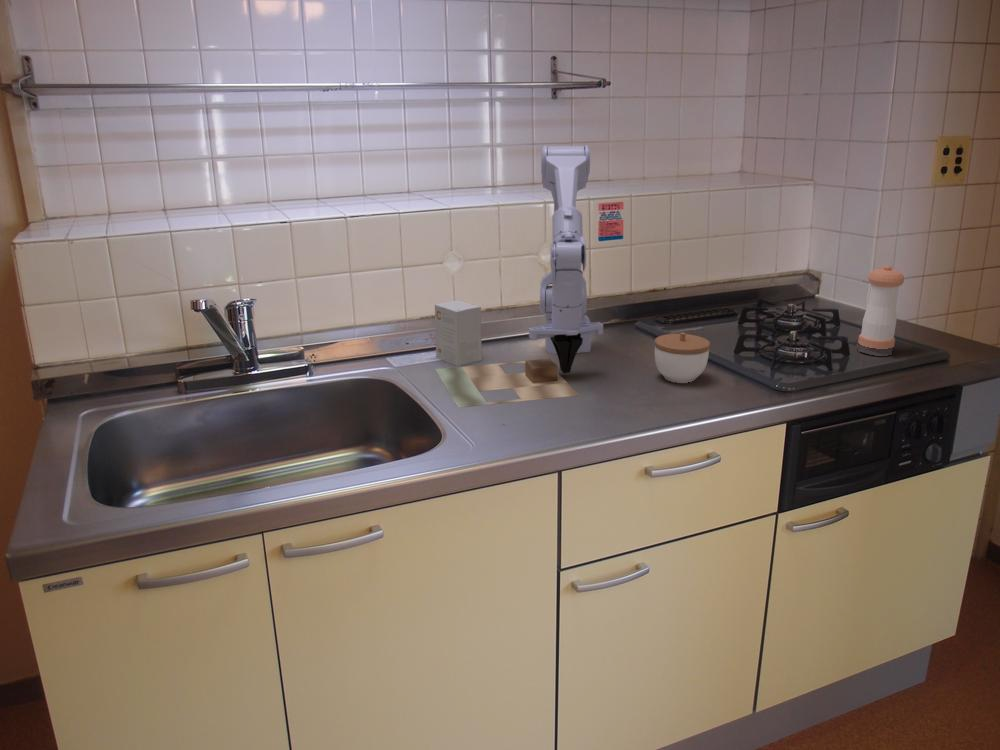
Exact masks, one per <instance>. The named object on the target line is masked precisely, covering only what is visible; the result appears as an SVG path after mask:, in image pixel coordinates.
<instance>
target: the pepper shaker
mask: <svg viewBox="0 0 1000 750" xmlns="http://www.w3.org/2000/svg"><path fill="white" fill-rule="evenodd" d="M867 277H868V278H867V280H868V282H869V284H870V291H869V296H868V301H867V305H866V310H865V311H864V312H865V313H864V316H863V318H862V324H861V325H862V326H861V333H860V334H859V335H858V341H857V344H858V343H859V344H860V345H862V346H865V347H869V348H876V349H888V348H892V347H894V348H895V343H896V337H895V331H896V325H897V301H898V294H899V288H900V287H901V286H903V283H905V275H904V274H903V272H901V271H900V270H897V269H894V268H892V265H884V266H883V268H882V267H881V268H876V269H873V270H871V271H870V273H869V275H868V276H867Z"/></svg>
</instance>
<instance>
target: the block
mask: <svg viewBox="0 0 1000 750" xmlns="http://www.w3.org/2000/svg"><path fill="white" fill-rule="evenodd" d="M524 361H525V363H524V364H525V365H524V367H525V368H524V369H525V370H524V371H525V372H524V373H525V375H526V376H527V378H528V379H529V380H530V381H531V382H532V383H542V382H552V381H558V374H559V368H558V367H559V366H558V365H557V364H556V363H555V362H554V361H553V360H551V358H541V359H540V358H539V359H529V360H524Z"/></svg>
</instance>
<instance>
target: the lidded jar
mask: <svg viewBox="0 0 1000 750" xmlns="http://www.w3.org/2000/svg"><path fill="white" fill-rule="evenodd" d="M710 348H711V342H710V340H708V339H707V338H705V337H702V336H699V335H693V334H689V333H686V332H680V333H668V334H664V335H663V334H662V335H659V336H657V337H656V338H655V340H654V360H655V361H654V362H655V365H656V368H657V369H658V372H659V373H660V374H661V375H662V376H663V378H664V379H665V380H666V381H668V382H670V381H671V383H675V382H676V383H677V384H688V382H690V383H693V382H695V381H696V379H697V378H698V377H699V376H700V375H702V373H703V372H704V371H705V369H706V367H707V364H708V360H709V353H710ZM694 380H695V381H694ZM692 381H693V382H692Z"/></svg>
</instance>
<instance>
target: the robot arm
mask: <svg viewBox="0 0 1000 750" xmlns="http://www.w3.org/2000/svg"><path fill="white" fill-rule="evenodd" d="M540 157H541V159H540V160H541V161H540V163H541V166H540V167H541V169H540V173H541V183H542V188H543V189H546V190H547V191H550V193H551V196H552V198H553V199H552V200H553V214H552V218H551V219H552V220H551V221H552V223H551V224H552V227H551V228H552V243H551V245H550V257H549V258H550V259H549V260H550V261H549V263H550V272H548V273H547V274H545V275H544V276H543V277H541V280H540V288H539V312H540V314H541V315H542V316H543V315H544V316H545V324H544V325H540V326H535V327H533V326H532V327H529V328H528V338H529V339H530V340H532V341H536V340H537V339H544V340H545V342H544V343H545V351H546V352H547V353H548V354H552V355H557V358H558V363H559V367H560V368H559V369H560V371H561V372H562V373H563V374H568V373H569V374H570V373H571V371H572V366H573V363H574V360H575V359H576V358H575V357H576V355H577V354H579V353H581V354H582V353H590V352H591V349H592V335H594V334H596V335H604V324H602V323H601V322H599V321H597V322H591V320H590V318H589V316H588V315H587V314H586V312H587V307H588V305H587V302H588V298H587V297H588V294H587V293H588V292H587V281H586V279H585V277H584V276H583V275H584V273H583V272H585V270H586V265H587V246H586V242H585V241H586V240H585V236H584V234H583V213H581V211H580V210H578V209H577V208H576V207H577V194H578V192H579V191H581V190H583V189H585V188H586V187H587V183H588V180H589V175H590V171H591V148H590V147H589V146H588V144H585V145H544V144H543V147H542V148H541V156H540Z"/></svg>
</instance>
